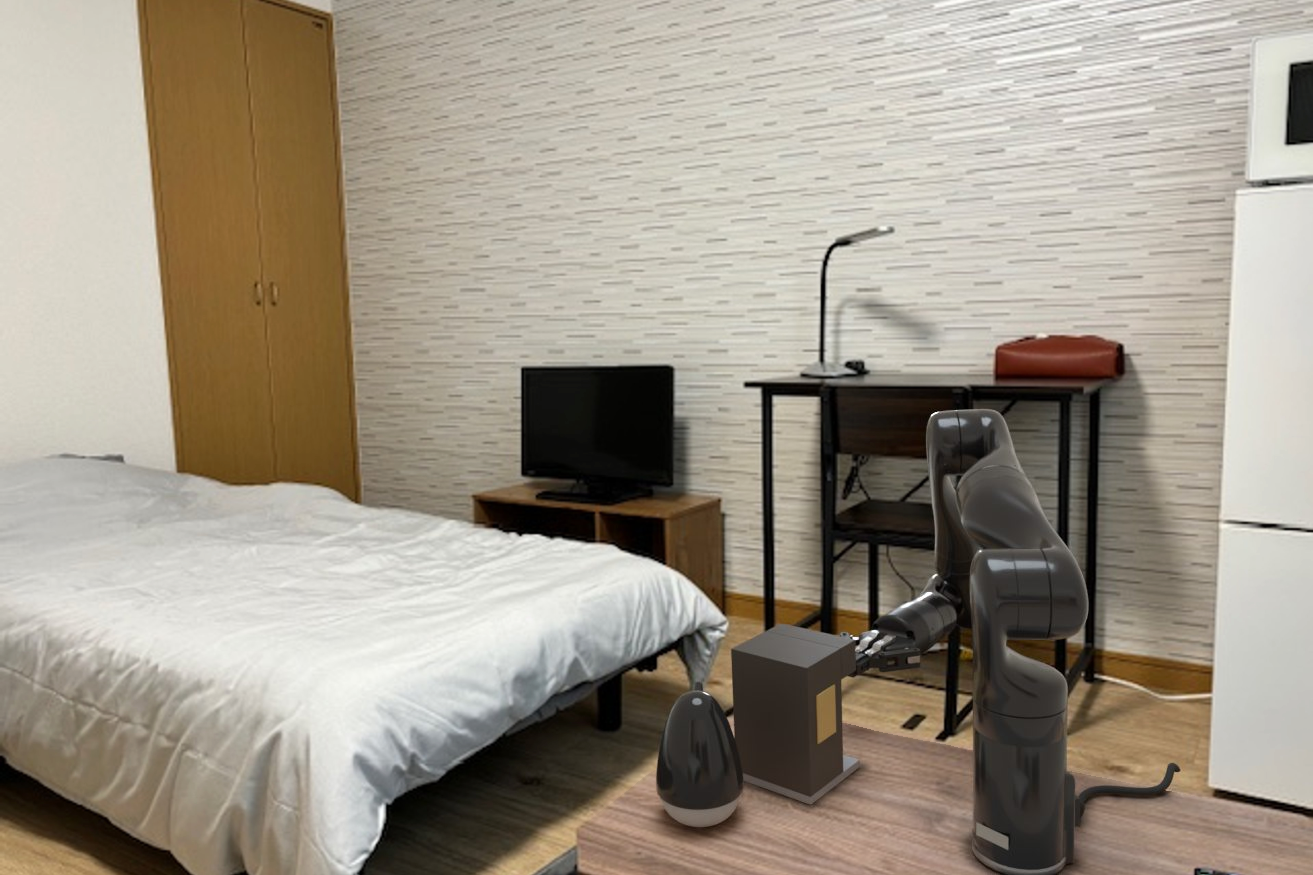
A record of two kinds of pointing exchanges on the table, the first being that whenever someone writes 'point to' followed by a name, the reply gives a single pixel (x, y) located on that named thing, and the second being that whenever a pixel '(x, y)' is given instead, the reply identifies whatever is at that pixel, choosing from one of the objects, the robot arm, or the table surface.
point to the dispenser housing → (792, 710)
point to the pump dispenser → (698, 762)
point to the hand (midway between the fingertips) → (847, 669)
